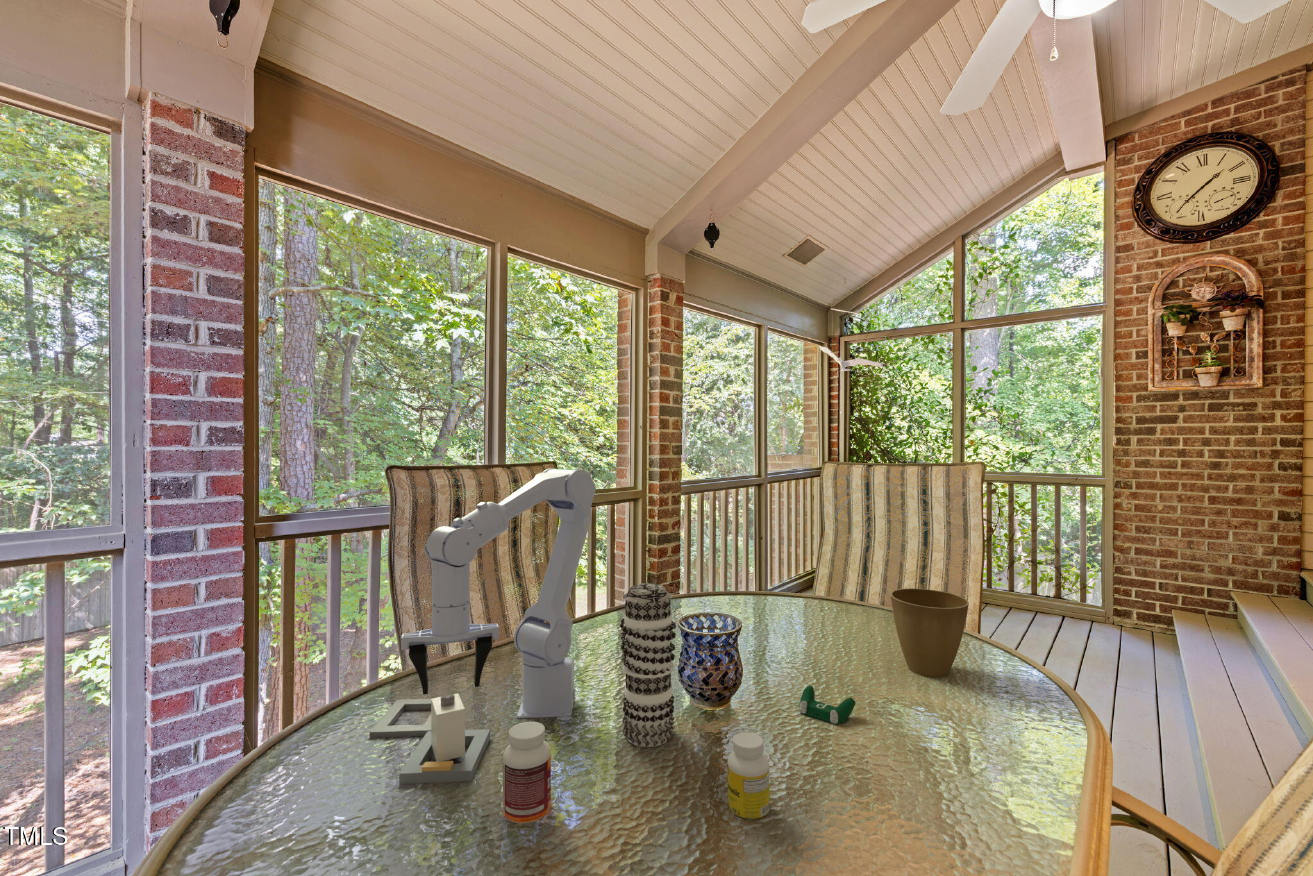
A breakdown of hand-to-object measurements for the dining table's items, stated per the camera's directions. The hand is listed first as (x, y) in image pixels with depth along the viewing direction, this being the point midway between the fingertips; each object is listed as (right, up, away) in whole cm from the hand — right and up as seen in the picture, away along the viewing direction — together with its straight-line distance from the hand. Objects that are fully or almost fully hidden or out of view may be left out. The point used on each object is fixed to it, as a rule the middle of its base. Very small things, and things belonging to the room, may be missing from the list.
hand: (451, 688), depth 92 cm
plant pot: (+90, -10, +30) cm, 95 cm away
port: (+1, -10, -4) cm, 11 cm away
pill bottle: (+16, -10, -16) cm, 24 cm away
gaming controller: (+64, -8, +13) cm, 66 cm away
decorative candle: (+31, -10, +3) cm, 33 cm away
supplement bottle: (+45, -10, -16) cm, 49 cm away
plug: (+1, -8, -4) cm, 9 cm away
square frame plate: (-10, -10, +9) cm, 17 cm away
